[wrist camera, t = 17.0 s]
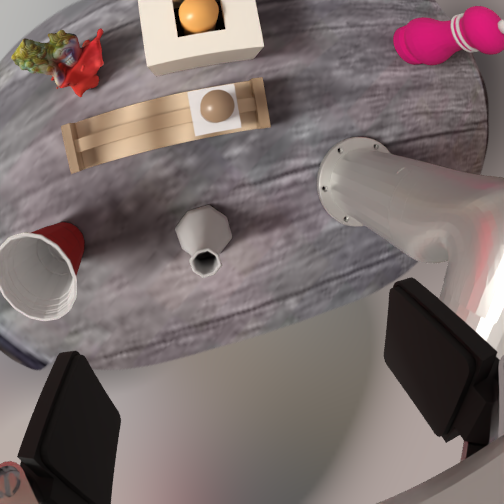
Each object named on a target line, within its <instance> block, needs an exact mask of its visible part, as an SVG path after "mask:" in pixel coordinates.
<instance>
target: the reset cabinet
mask: <svg viewBox="0 0 504 504" xmlns="http://www.w3.org/2000/svg"><path fill="white" fill-rule="evenodd" d="M184 1H185V0H138V4H139V12H140V20H141V28H142V35H143V42H144V49H145V55H146V62H147V67H148V68H149V69H150V70H151V71H152V73H153V74H154V75H155V76H156V77H157V76H161V75H165V74H170V73H174V72H179V71H183V70H188V69H193V68H199V67H204V66H210V65H216V64H222V63H229V62H236V61H243V60H251V59H254V58H255V57H256V55H257V54H258V53H259V52H260V51H261V49H262V48H263V47H264V43H263V38H262V32H261V27H260V22H259V17H258V12H257V7H256V2H255V0H215V1H216V2H217V1H220V3H221V8H222V14H223V19H224V25H225V30H217V31H211V32H205V33H199V34H193V35H188V36H183V37H178V35H177V29H176V22H175V16H174V9H175V8H180V6H181V4H182V3H183V2H184Z"/></svg>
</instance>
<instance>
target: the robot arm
mask: <svg viewBox="0 0 504 504" xmlns="http://www.w3.org/2000/svg"><path fill="white" fill-rule="evenodd" d="M338 148H339V152H338ZM323 186H324V189H322V187H323ZM317 191H318V195H319V199H320V201H321V203H322V205H323V207H324V209H325V210H326V211H327V213H328V214H329V215H331V216H332V217H333V218H334V219H335V220H337V221H338V222H340V223H342V224H344V225H348V226H364V225H365V226H366V227H367V228H369V229H370V230H372V231H373V232H375V233H376V234H378V235H379V236H381V237H382V238H384V239H385V240H386V241H388V242H389V243H391V244H392V245H394V246H395V247H396V248H398V249H399V250H401V251H402V252H404V253H405V254H407V255H408V256H410V257H411V258H413V259H415V260H417V261H420V262H424V263H441V262H446V261H448V266H447V271H446V275H445V278H444V284H443V288H442V291H441V294H440V297H439V299H438V298H437V297H436V296H435V295H434V294H432V293H431V292H430V291H429V290H428V289H426V288H425V287H424V286H423V285H421V284H420V283H419V282H418V281H417V280H416V279H414V278H407V279H405V280H401V281H398V282H396V283H395V284H394V286H393V288H391V289H390V293H389V307H388V318H387V330H386V339H385V349H384V359H385V362H386V364H387V366H388V367H389V368H390V370H391V371H392V372H393V374H394V375H395V377H396V378H397V380H398V381H399V382H400V384H401V385H402V387H403V388H404V390H405V391H406V392H407V394H408V395H409V397H410V398H411V399H412V401H413V402H414V404H415V405H416V407H417V408H418V410H419V411H420V412H421V414H422V415H423V417H424V418H425V420H426V421H427V422H428V424H429V425H430V427H431V428H432V430H433V431H434V433H435V434H436V435H437V436H439V437H440V436H442V437H443V439H444V440H445V442H448V441H450V440H452V439H453V438H455V437H457V436H459V435H461V437H462V438H463V440H464V443H463V450H462V456H461V461H460V463H458V464H456V465H455V466H453V467H451V468H449V469H447V470H446V471H444V472H442V473H440V474H438V475H437V476H435V477H433V478H431V479H429V480H427V481H426V482H423V483H421V484H419V485H417V486H415V487H413V488H411V489H409V490H407V491H405V492H403V493H400V494H398V495H396V496H394V497H391V498H389V499H387V500H384V501H382V502H379V503H377V504H504V178H502V177H492V176H484V175H478V174H471V173H466V172H462V171H458V170H454V169H449V168H446V167H442V166H438V165H434V164H430V163H427V162H423V161H419V160H415V159H411V158H406V157H402V156H398V155H393V154H391V153H390V152H389V151H388V149H387V148H386V147H385V146H384V145H382V144H381V143H380V142H378V141H376V140H374V139H370V138H366V137H351V138H347V139H344V140H342V141H340V142H339V143H337V144H336V145H334V146H333V147H332V148H331V149H330V150H329V151H328V153H327V154H326V155H325V156H324V158H323V160H322V162H321V164H320V168H319V171H318V176H317ZM344 217H345V219H344ZM120 423H121V418H120V414H119V412H118V410H117V409H116V407H115V406H114V404H113V403H112V401H111V400H110V398H109V396H108V395H107V393H106V392H105V390H104V389H103V387H102V385H101V383H100V382H99V380H98V378H97V377H96V375H95V374H94V372H93V370H92V368H91V366H90V365H89V363H88V361H87V359H86V358H85V356H83V355H80V354H79V353H78V352H77V351H71V352H63V353H59V355H58V356H57V358H56V361H55V363H54V365H53V367H52V369H51V372H50V374H49V376H48V378H47V381H46V383H45V385H44V387H43V390H42V392H41V395H40V397H39V399H38V402H37V404H36V407H35V409H34V412H33V414H32V417H31V420H30V422H29V425H28V428H27V430H26V433H25V436H24V438H23V441H22V444H21V447H20V450H19V453H18V456H17V457H18V458H19V459H20V460H21V464H20V465H19V464H17V463H15V462H12V461H8V462H3V463H1V464H0V504H111V494H112V484H113V474H114V467H115V458H116V451H117V444H118V437H119V430H120Z"/></svg>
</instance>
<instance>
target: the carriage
mask: <svg viewBox="0 0 504 504" xmlns="http://www.w3.org/2000/svg"><path fill="white" fill-rule="evenodd" d="M187 94H188V99H189V105H190V110H191V116H192V121H193V127H194V132H195V136H199V135H204V134H209V133H215V132H220V131H225V130H231V129H236V128H242V127H241V122H240V116H239V110H238V104H237V98H236V93H235V87H234V84H228V85H222V86H216V87H211V88H205V89H200V90H195V91H190V92H187Z"/></svg>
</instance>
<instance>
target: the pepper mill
mask: <svg viewBox="0 0 504 504" xmlns="http://www.w3.org/2000/svg"><path fill="white" fill-rule="evenodd" d="M393 41H394V46H395V49H396V51H397V53H398V54H399V56H400V57H401V58H402V59H403V60H404V61H406V62H407V63H410V64H414V65H416V64H422V63H424V64H427V65H437V64H440V63H443V62H444V61H446V60H447V59H449V58H450V57H451V56H452V55H453V54H454V53H455V52H457V51H459V50H465V51H467V52H478V51H480V52H482V53H485V54H497V53H500V52H501V51H502V50H504V20H501V19H500V18H499V16H498V15H497V14H496V13H494V12H493V11H492V10H490V9H488V8H486V7H482V6H475V7H471V8H469V9H467V10H466V11H465V13H464V14H463V13H462V14H460V15H455V16H454V17H453V18H452V20H450V21H438V20H435V19H431V18H423V17H422V18H416V19H413V20H411V21H410V22H409V23H408V24H407V25H406V26H403V27H400V28H398V29H397V30H396V32H395V34H394V38H393Z"/></svg>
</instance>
